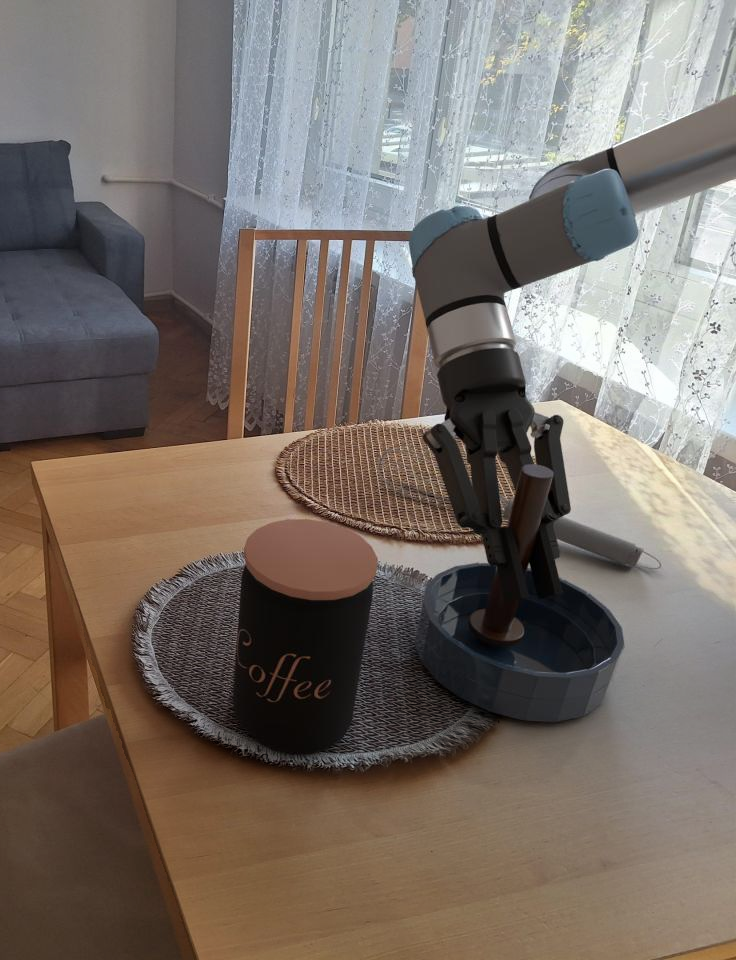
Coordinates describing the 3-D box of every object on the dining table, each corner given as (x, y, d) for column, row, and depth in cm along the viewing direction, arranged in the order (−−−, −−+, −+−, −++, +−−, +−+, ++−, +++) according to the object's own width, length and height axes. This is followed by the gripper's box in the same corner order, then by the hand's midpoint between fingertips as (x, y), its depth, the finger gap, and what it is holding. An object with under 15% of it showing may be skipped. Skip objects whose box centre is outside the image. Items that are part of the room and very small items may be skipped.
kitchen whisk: (651, 587, 94) (668, 539, 91) (364, 491, 114) (371, 448, 111) (664, 563, 98) (681, 515, 95) (385, 474, 118) (392, 432, 115)
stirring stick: (522, 621, 86) (567, 463, 77) (522, 652, 82) (570, 489, 73) (469, 610, 88) (507, 453, 79) (466, 639, 84) (506, 478, 75)
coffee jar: (208, 717, 79) (217, 553, 70) (276, 660, 85) (292, 505, 76) (307, 781, 72) (331, 609, 63) (373, 715, 78) (403, 551, 70)
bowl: (599, 631, 88) (615, 584, 85) (613, 750, 74) (633, 698, 71) (422, 594, 94) (431, 548, 91) (405, 697, 80) (415, 647, 77)
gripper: (529, 370, 89) (587, 596, 82) (384, 380, 87) (433, 611, 81) (573, 338, 81) (641, 583, 75) (416, 349, 80) (473, 600, 74)
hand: (533, 597), depth 78 cm, fingers closed on stirring stick, 3 cm apart
